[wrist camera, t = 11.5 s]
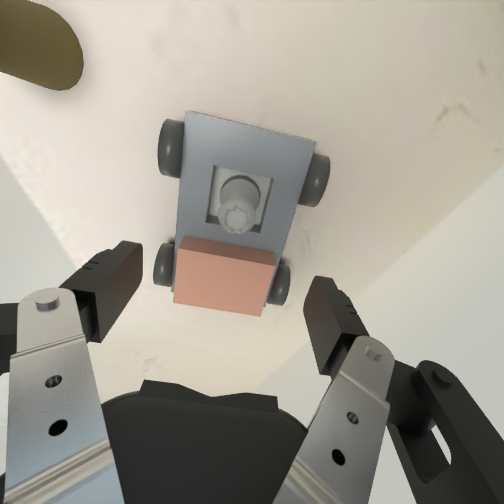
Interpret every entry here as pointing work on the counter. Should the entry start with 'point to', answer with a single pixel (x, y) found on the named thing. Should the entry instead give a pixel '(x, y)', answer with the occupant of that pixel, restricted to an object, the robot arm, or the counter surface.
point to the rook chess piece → (238, 204)
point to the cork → (38, 45)
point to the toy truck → (208, 204)
